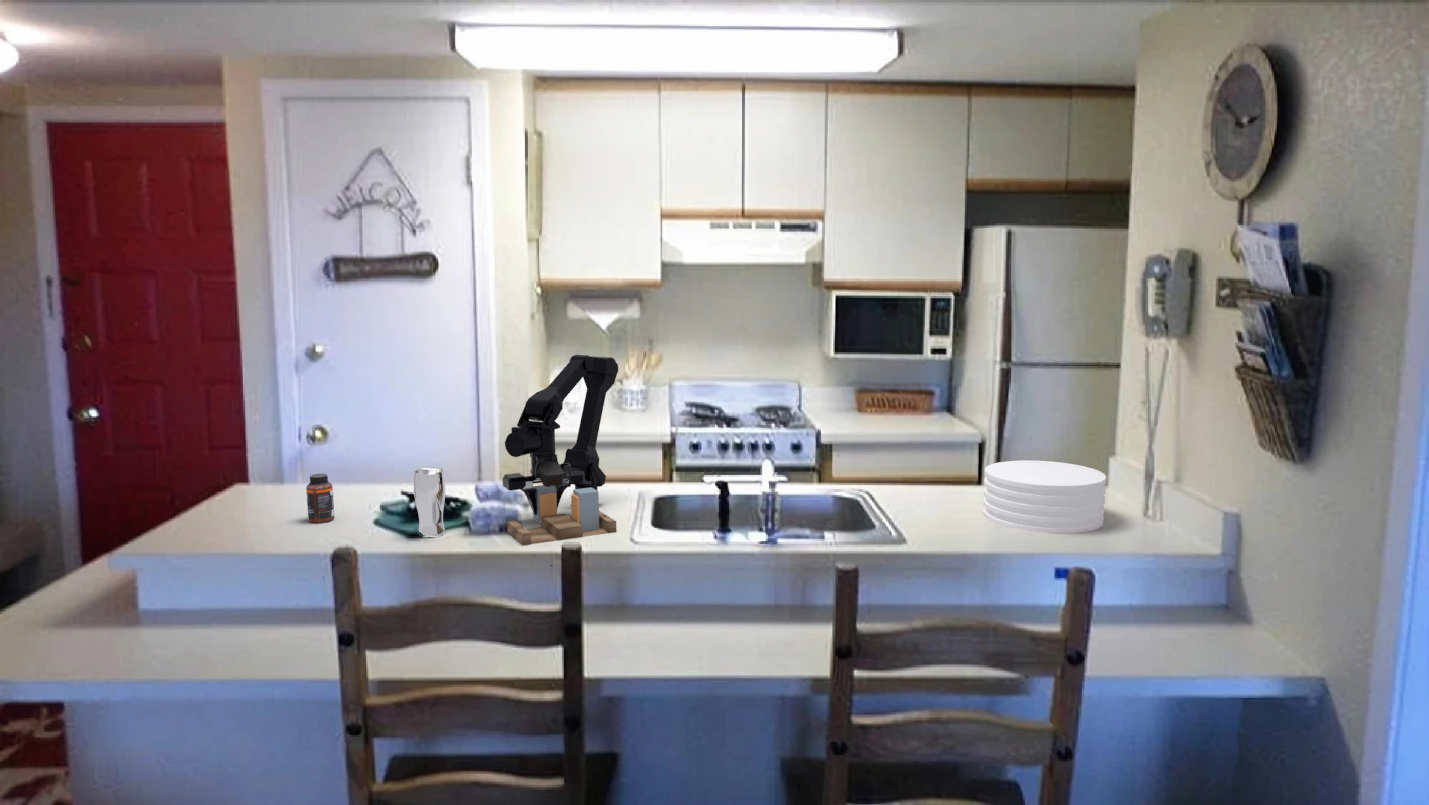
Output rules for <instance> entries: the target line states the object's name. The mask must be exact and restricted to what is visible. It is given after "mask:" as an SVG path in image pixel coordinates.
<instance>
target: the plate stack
mask: <svg viewBox="0 0 1429 805" xmlns="http://www.w3.org/2000/svg"><path fill="white" fill-rule="evenodd" d="M984 476H985V477H984V482H983V484H984V488H983V495H984V497H983V506H984V507H983V510H982V515H983V517H984V518H985V519H986V520H988V521H990V522H992V523H994V524H996V525H1000V526H1003V527H1006V528H1010V529H1014V530H1018V531H1019V530H1020V531H1021V530H1022V531H1026V532H1035V533H1044V534H1045V533H1047V534H1076V533H1078V534H1079V533H1086V532H1091V531H1095V530H1098V529H1100V528H1101V527H1102V526H1103V525H1104V522H1105V521H1104V520H1105V518H1104V515H1105V506H1104V505H1105V503H1106V497H1105V495H1106V483H1107V476H1106V474H1105V473H1104V472H1102V471H1100V470H1099V469H1095V468H1092V467H1088V466H1084V465H1080V464H1075V463H1074V464H1073V463H1068V462H1060V461H1049V460H1029V459H1028V460H1026V459H1025V460H1006V461H1000V462H999V461H998V462H995V463H992V464H988V465H987V466H986V467H985V468H984Z"/></svg>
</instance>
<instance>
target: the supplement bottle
mask: <svg viewBox="0 0 1429 805" xmlns="http://www.w3.org/2000/svg"><path fill="white" fill-rule="evenodd" d="M333 488H334V487H333V484H332V483H331V482H329V478H328V474H327V473H314V474H310V475H309V483H308V484H307V485H306V488H305V489H306V502H307V503H306V504H307V518H308V521H309V522H310V523H314V524H321V523H327V522H331V521H333V520H334V519H335V506H334V490H333Z"/></svg>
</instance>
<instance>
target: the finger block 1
mask: <svg viewBox="0 0 1429 805" xmlns="http://www.w3.org/2000/svg"><path fill="white" fill-rule="evenodd" d="M533 487H534V488H535V489H536V493H535V497H536V506H537V515H534V513H533V512H532V518H533V520H534V521H536V522H537V523H538V524H542V517H543V516H550V515H558V508H557V492H556V487H554V486H550V487H546V486H544V485H543V484H540V485H533Z"/></svg>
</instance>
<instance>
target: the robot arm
mask: <svg viewBox="0 0 1429 805" xmlns="http://www.w3.org/2000/svg"><path fill="white" fill-rule="evenodd" d="M618 373H619V364H618V363H617V361H616V360H615V358H614V357H610V356H609V357H608V356H607V357H606V356H594V355H593V356H590V355H589V354H588V355H587V354H574V355H572V356H571V357H570V359H569V362H568V363H567V364H566V365H565V366H564V367H563V368H562V370H561V371H560V372H559V374H557V375H556V377H555V378H554V379H553V380H552V381H551V382H550V384H549V385H548V386H547V387H545V388H544V389H542V390H539V391H537V392H535V393H533V395H531V396H530V397H528V399H527V400H526V402H525V403H524V404H525V405H524V407H523V410H522V412H521V413H520V417H519V419H518V422H517V424H516V426H512V427H511V432H510V433H509V434H508V435H507V436H506V438H505V440H504V448H505V449H506V451H507V453H508V454H509V455H510V456H511V457H513V458H519V457H523V456H525V455H529V457H530V461H531V462H530V463H531V464H530V465H531V469H530V470H529V472H530V475H525V476H524V475H523V474H521V473H519V472H517V473H507V474H504V476H503V477H502V487H504V488H506V489H507V490H508V491H517V490H520V491H521V492H523V494H524V495H525V497H526V498H527V501H528V504H529V506H530V508H531V511H532V514H533V513H534V515H537V506H536V497H535V493H536V489H535V488H534V487H533V486H534V484H538V483H540V484H541V485H544V486H546V487H550V486H554V487H556V492H557V509H558V507H559V505H560V502H561V498H562V496H563V493H564V492H565V490H566V489H567V488H570V487H571V486H572V485H573V486H574V489H582V488H593V489H595V490H597V491H598V492H599V490H598V488H599V487H603V486H604V485H605V484H606V479H607V475H606V474H605V473H604V472H603V470H602V469H601V468H600V467H599V466H600V457H599V454H598V451H597V448H596V447H597V441H598V435H599V431H600V427H601V426H600V425H601V422H602V416H603V412H604V407H605V406H604V405H605V400H606V395H607V393H608V391H610V389H611V388H612V387H613V386H614V384H615V383H616V379H617V376H618ZM582 379H583V381H584V384H585V387H586V393H585V398H584V402H583V408H582V411H581V417H580V422H579V427H578V432H577V436H576V442H575V444H574V445H573V446H572V448H567V449H566V451H565V456H564V461H563V462H562V463H559V461H558V455H557V454H556V433H555V432H556V431H555V430H558V429H561V425H560V424H559V423H558V422H556V420H558V417H559V416H560V414H561V412H562V411H563V408H564V406H563V405H564V400H565V399H566V398H567V397H568V396H569V394H570V393H571V392H572V391H573V389H574V388H575V387H576V386H577V385H578V383H579V382H580V381H581V380H582Z"/></svg>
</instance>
